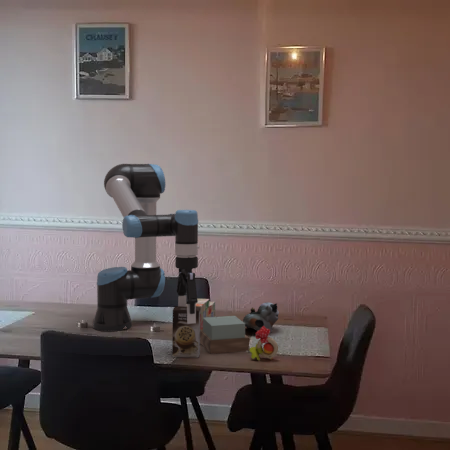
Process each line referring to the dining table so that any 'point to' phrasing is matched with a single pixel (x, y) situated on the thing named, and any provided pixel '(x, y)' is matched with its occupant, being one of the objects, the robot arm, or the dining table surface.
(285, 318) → the dining table surface
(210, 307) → the stack of blocks
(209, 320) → the grey-green block
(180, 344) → the coffee box
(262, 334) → the bird rattle
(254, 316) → the lucky cat figurine
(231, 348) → the walnut slab
